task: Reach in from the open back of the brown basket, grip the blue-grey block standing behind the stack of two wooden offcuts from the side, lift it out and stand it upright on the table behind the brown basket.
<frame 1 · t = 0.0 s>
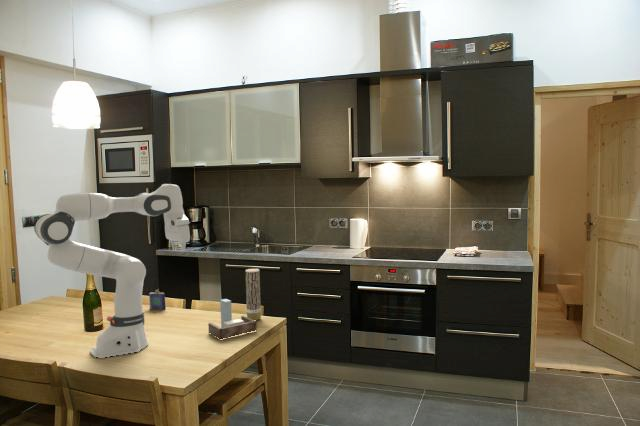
hand: (179, 250, 222), 39 cm above the table, tool pointing down, fingers open, 8 cm apart
flask: (157, 309, 271), on the table
brown basket: (229, 331, 230), on the table
blue-grey block: (226, 329, 232), on the table
offcut upper: (234, 328, 226), point 3 cm above the table, touching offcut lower
brown patterned cylinder: (254, 319, 248), on the table
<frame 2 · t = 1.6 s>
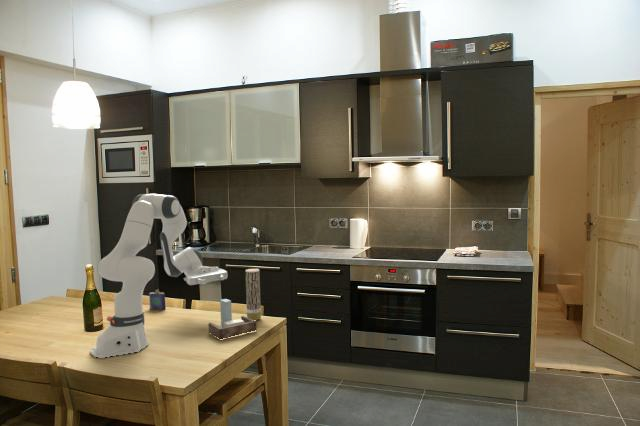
hand: (213, 280, 241), 21 cm above the table, tool horizontal, fingers open, 8 cm apart
offcut upper: (234, 328, 226), point 3 cm above the table
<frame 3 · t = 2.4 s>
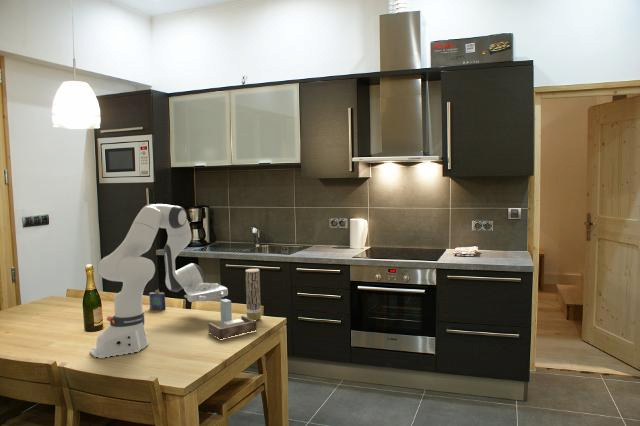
hand: (214, 297, 241), 13 cm above the table, tool horizontal, fingers open, 8 cm apart
offcut upper: (234, 328, 226), point 3 cm above the table, touching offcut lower
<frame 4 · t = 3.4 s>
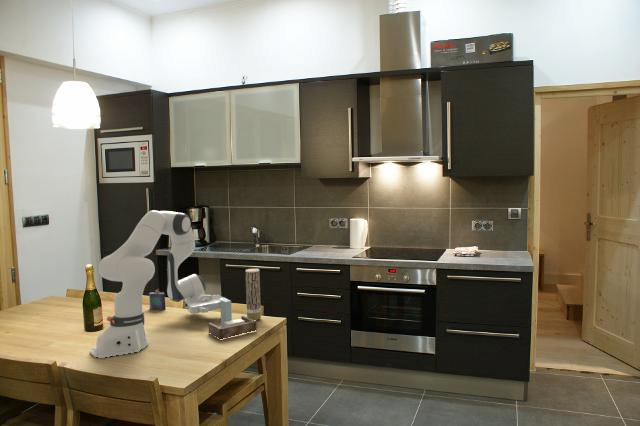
hand: (215, 308, 240), 8 cm above the table, tool horizontal, fingers open, 8 cm apart
nothing on the table moved.
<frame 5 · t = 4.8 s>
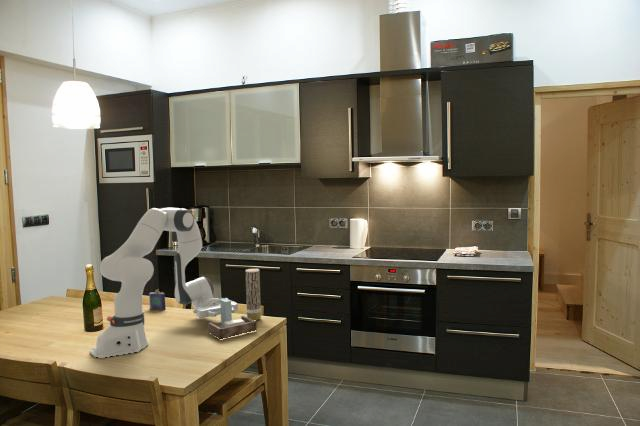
hand: (224, 313, 233), 8 cm above the table, tool horizontal, fingers open, 8 cm apart
nothing on the table moved.
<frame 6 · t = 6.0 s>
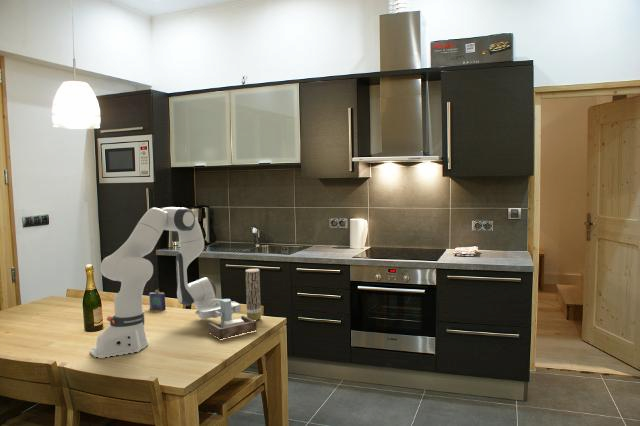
hand: (226, 314, 231), 8 cm above the table, tool horizontal, fingers closed on blue-grey block, 3 cm apart
blue-grey block: (226, 329, 232), on the table, touching gripper
everything else where it was.
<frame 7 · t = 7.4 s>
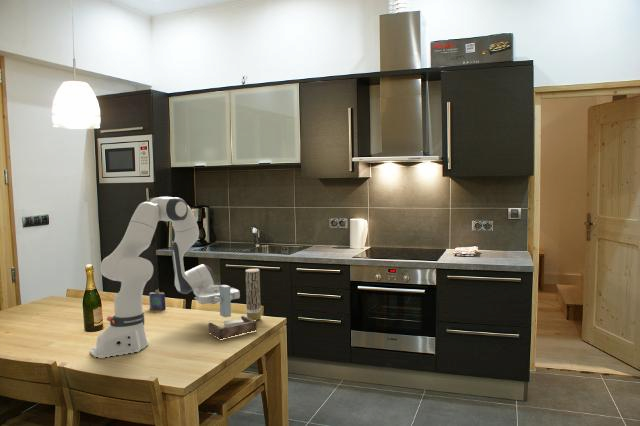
hand: (226, 299, 230), 15 cm above the table, tool horizontal, fingers closed on blue-grey block, 3 cm apart
blue-grey block: (225, 315, 231), point 7 cm above the table, touching gripper
everything else where it was.
when the fingers open (9 cm above the table, at t = 11.7 s): blue-grey block stays where it is, on the table.
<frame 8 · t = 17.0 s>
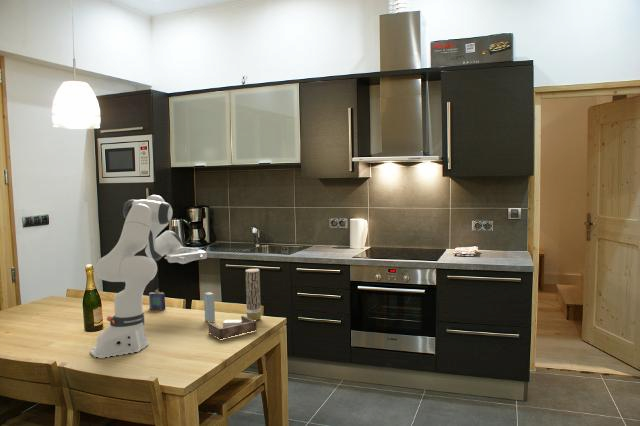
hand: (193, 258, 253), 30 cm above the table, tool horizontal, fingers open, 8 cm apart
blue-grey block: (210, 321, 246), on the table
at the end: blue-grey block inside the target area (0.0 cm from its centre), on the table; blue-grey block tilted 0°; offcut upper moved 1.0 cm from its start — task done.
